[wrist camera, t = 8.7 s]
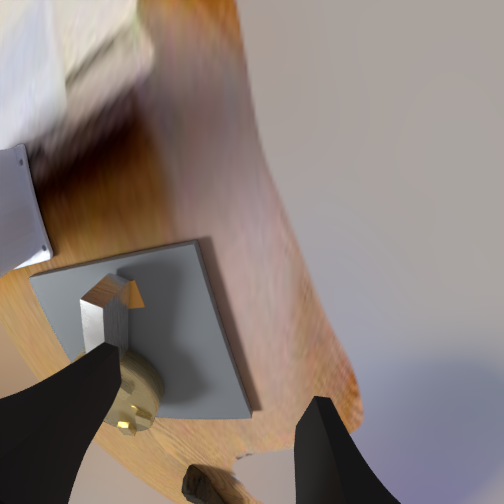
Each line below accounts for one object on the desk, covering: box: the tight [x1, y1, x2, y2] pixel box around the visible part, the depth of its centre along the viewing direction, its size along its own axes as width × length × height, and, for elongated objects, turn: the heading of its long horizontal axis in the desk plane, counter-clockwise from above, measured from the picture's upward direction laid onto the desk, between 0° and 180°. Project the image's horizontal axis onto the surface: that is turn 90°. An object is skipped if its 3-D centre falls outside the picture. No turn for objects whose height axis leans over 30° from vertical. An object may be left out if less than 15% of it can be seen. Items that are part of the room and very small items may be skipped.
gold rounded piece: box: [72, 273, 165, 436], centre depth 18 cm, size 14×8×4 cm, turn 166°
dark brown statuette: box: [182, 465, 225, 504], centre depth 29 cm, size 19×4×5 cm, turn 6°
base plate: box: [29, 240, 252, 419], centre depth 21 cm, size 16×16×1 cm
